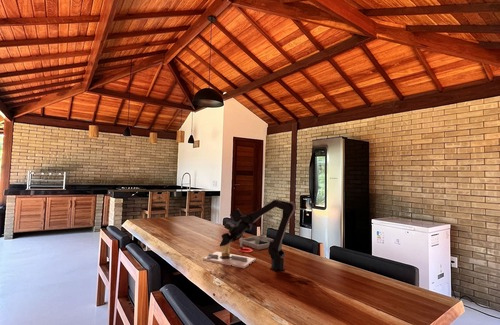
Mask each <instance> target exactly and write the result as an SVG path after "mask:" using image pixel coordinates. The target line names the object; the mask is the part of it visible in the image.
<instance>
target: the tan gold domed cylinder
mask: <svg viewBox="0 0 500 325" xmlns="http://www.w3.org/2000/svg"><path fill="white" fill-rule="evenodd" d="M221 239H222V240H223V238H222V237H221ZM222 240H221V241H222ZM221 247H222V248H221V252H222V258H229V257H230V254H231V243H230V244H227V245H224V246H221Z"/></svg>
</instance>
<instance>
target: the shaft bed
mask: <svg viewBox="0 0 500 325" xmlns="http://www.w3.org/2000/svg"><path fill="white" fill-rule="evenodd" d="M202 260H203V261H206V262H211V263H216V264H221V265H226V266H231V265H232V266H233V267H236V268H240V269H246V268H247V267H248V266H250V265H251V264H252V262H253V263H254V262H255V261H256V260H257V259H256V257H250V256H249V257H248V256H246V255H245V256H243V255H238V254H234V253H233V254H232V253H230V257H229V258H222V251H214V252H213V253H208V255H206V256H205V257H203V258H202ZM249 264H250V265H249Z"/></svg>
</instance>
